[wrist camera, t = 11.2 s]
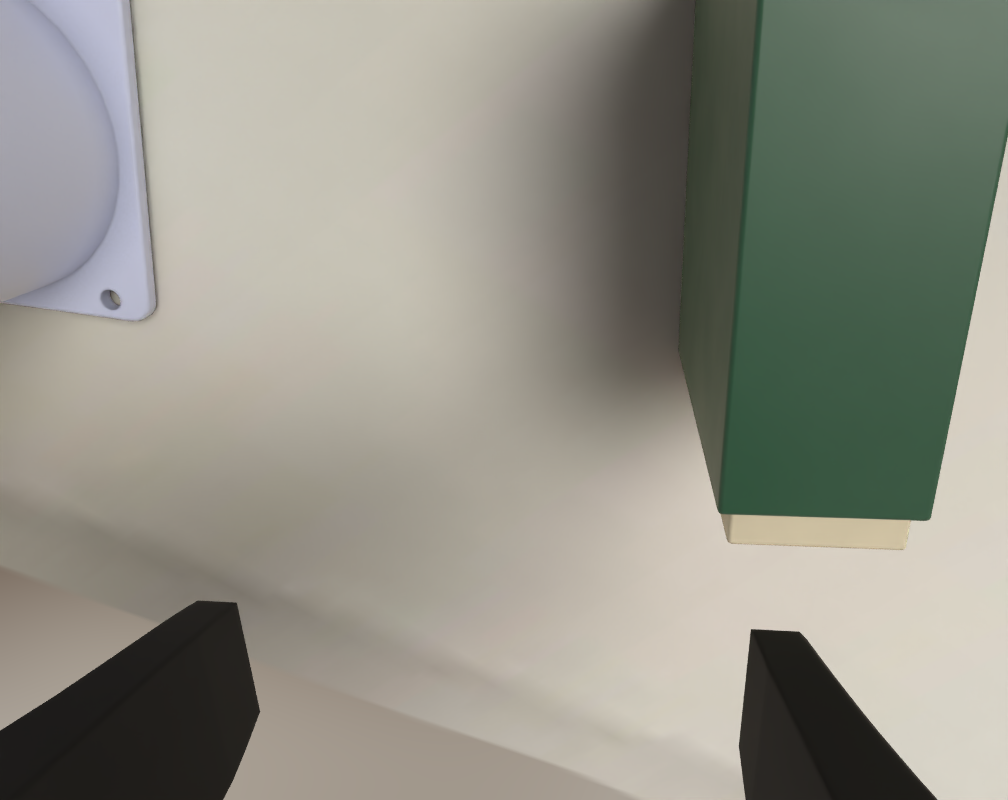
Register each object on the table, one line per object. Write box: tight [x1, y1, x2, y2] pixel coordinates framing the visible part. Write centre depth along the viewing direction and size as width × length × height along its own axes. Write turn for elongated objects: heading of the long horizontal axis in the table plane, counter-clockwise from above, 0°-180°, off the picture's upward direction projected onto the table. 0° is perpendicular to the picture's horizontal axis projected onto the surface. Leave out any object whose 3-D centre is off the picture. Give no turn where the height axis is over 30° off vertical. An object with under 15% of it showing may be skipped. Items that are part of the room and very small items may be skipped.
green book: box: [678, 0, 1008, 550], centre depth 13 cm, size 3×9×8 cm, turn 2°
